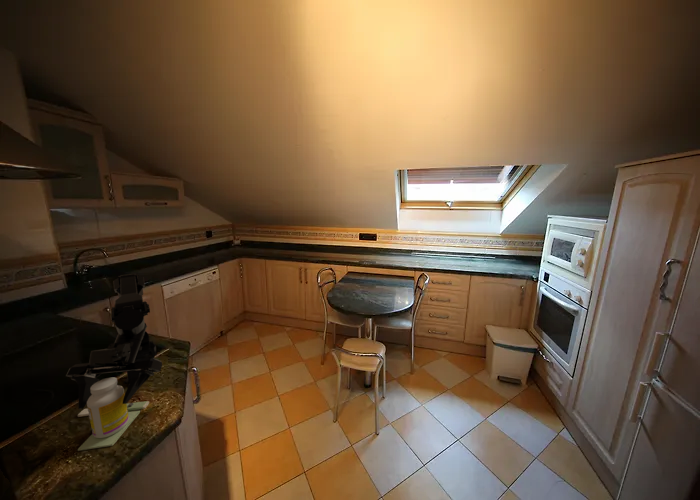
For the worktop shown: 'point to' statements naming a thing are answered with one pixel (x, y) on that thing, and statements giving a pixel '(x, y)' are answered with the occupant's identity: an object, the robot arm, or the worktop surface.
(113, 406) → the supplement bottle
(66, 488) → the worktop surface
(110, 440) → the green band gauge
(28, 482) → the worktop surface
